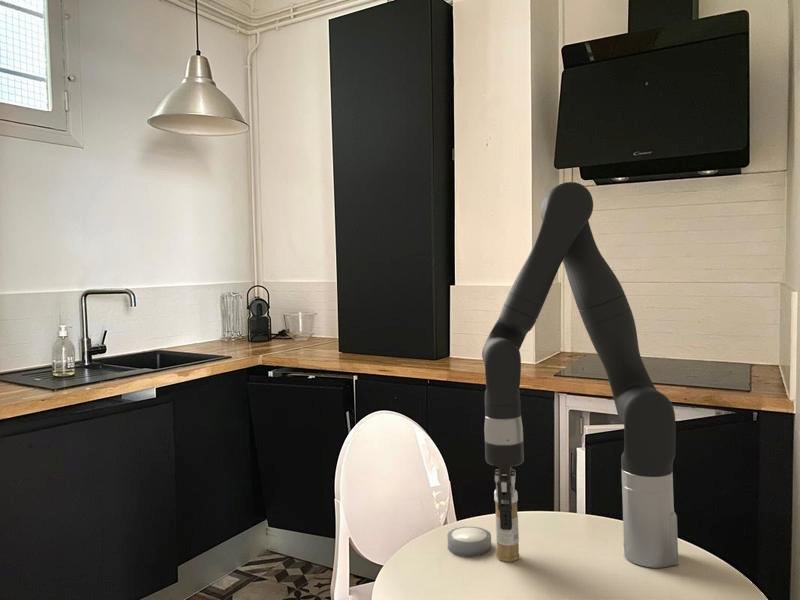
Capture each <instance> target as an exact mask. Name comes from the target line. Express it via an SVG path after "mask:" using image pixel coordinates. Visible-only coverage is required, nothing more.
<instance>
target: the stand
mask: <svg viewBox="0 0 800 600" xmlns="http://www.w3.org/2000/svg"><path fill="white" fill-rule="evenodd" d="M446 536H447V549H448V551H449V552H450V553H451V554H454V555H456V556H461V557H467V558H470V557H471V558H473V557H479V556H480V557H481V556H484V555H486V554H488V553H489V552H491V550H492V534H491V532H490V531H488V530H487V529H484V528H482V527H477V526H460V527H455V528H453V529H451V530H450V531H448V533H447V535H446Z"/></svg>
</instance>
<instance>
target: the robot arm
mask: <svg viewBox="0 0 800 600" xmlns="http://www.w3.org/2000/svg"><path fill="white" fill-rule="evenodd" d="M593 210H594V199H593V196H592V193H591V192H590V191H589V189H588V188H587V187H586V186H584V185H583V184H581V183H579V182H576V181H575V182H574V181H568V182H563V183H560V184H558V185H556V186H554V187H553V188H552V189H550V190H549V192H547V194H546V195H545V196H544V198H543V199H542V201H541V204H540V210H539V211H540V218H541V220H542V222H541V225H540V227H539V231H538V234H537V237H536V239H535V241H534V244H533V247H532V248H531V250H530V252H529V254H528V256H527V258H526V260H525V261H524V263H523V265H522V267H521V269H520V271H519V272H518V274H517V276H516V277H515V280H514V281H513V284H512V286H511V287H510V290H509V292H508V294H507V297H506V299H505V301H504V304H503V306H502V308H501V311H500V313H499V316H498V318H497V320H496V322H495V324H494V325H493V326H492V329H491V330H490V332H489V334H488V336H487V338H486V339H485V342H484V345H483V347H482V351H481V352H482V353H481V357H482V360H483V362H484V372H485V373H484V374H485V388H486V389H485V391H484V429H483V432H484V454H485V455H484V457H485V459H484V460H485V462H486V464H488V465H491V466H496V467H497V468H498V469H495V470H494V471H495V473H494V483H495V490H496V496H497V497H498V509H499V511H500V527H501V529H502V530H511V529H512V509H513V506H512V498H514V489H515V487H516V486H515V483H516V470H515V469H513V466H514V467H516V466H520V465H522V464H523V463H524V460H525V453H524V448H525V447H524V426H523V421H522V409H521V407H522V406H521V401H522V400H521V392H520V388H521V376H522V373H521V372H522V357H521V352H520V350H521V347H522V345H523V342H524V340H525V338H526V337H527V335H528V334H529V332H530V331H531V330H532V329H533V328H534V326H535V324H536V323H537V319H538V318H539V316H540V314H541V311H542V309H543V306H544V304H545V301H546V300H547V297H548V295H549V293H550V291H551V287H552V286H553V283H554V281H555V279H556V275H557V274H558V271H559V269H560V268H561V265H562V264H563V266H564V270H565V273H566V276H567V279H568V283H569V286H570V289H571V291H572V295H573V299H574V300H575V304H576V307H577V310H578V312H579V314H580V315H579V316H580V317H581V321H582V322H583V325H584V328H585V330H586V332H587V335H588V337H589V339H590V341H591V343H592V345H593V348H594V349H595V352H596V353H597V356H598V358H599V359H600V362H601V363H602V365H603V368H604V370H605V372H606V373H605V374H606V375H607V379H608V381H609V386H610V390H611V393H612V397H613V401H614V404H615V405H614V407H615V409H616V412H617V416H618V418H619V420H621V422H622V423H623V433H624V434H623V435H624V437H623V439H624V440H623V441H624V443H623V444H624V447H623V448H624V449H623V452H622V454H621V457H620V458H621V459H620V460H621V461H620V462H621V463H620V464H621V465H620V466H621V495H622V496H621V497H622V523H623V529H622V530H623V551H624V552H623V554H624V557H625V559H626V560H628V561H629V562H630V563H633V564H635V565H639V566H642V567H647V568H656V569H657V568H658V569H659V568H660V569H661V568H668V567H671V566H679V547H678V546H679V545H678V542H679V541H678V516H677V514H676V512H675V507H674V504H675V503H674V477H673V476H674V473H673V472H674V471H673V469H674V467H673V464H674V460H675V458H676V444H677V443H676V442H677V441H676V438H677V437H676V433H677V430H676V429H677V428H676V424H677V423H676V411H675V409H674V405H673V403H672V402H671V400H670V399H669V398H668V397H667V396H666V395H665V394H664V393H662V392H660V391H658V390H657V388H656V386H655V385H654V383H653V381H652V379H651V377H650V375H649V373H648V371H647V369H646V367H645V364H644V362H643V359H642V355H641V353H640V348H639V342H638V341H639V340H638V332H637V328H636V322H635V318H634V314H633V311H632V309H631V306H630V303H629V301H628V298H627V296H626V294H625V293H626V292H625V291H624V289H623V287H622V285H621V282H620V281H619V279H618V278H617V276H616V275H615V273H614V272H613V270H612V268H611V266H610V265H609V264H608V262H607V261H606V259H605V258H604V257H603V255H602V254H601V252H600V250H599V248H598V246H597V243H596V241H595V238H594V235H593V231H592V229H591V226H590V221H589V220H590V219H591V216H592V214H593ZM515 490H516V489H515ZM502 500H508V501H509V504H502Z"/></svg>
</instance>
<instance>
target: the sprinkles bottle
mask: <svg viewBox="0 0 800 600" xmlns="http://www.w3.org/2000/svg"><path fill="white" fill-rule="evenodd" d="M493 494H494V495H493V496H494V498H493V500H494V503H495V536H496V551H497V552H496V557H497V559H499V560H500V561H502V562H508V563H509V562H515V561H517V560H519V559H520V550H519V549H520V547H519V545H520V544H519V540H520V536H519V516H518V500H519V499H518V497H519V495H518V491H517V490H516V489H514V498H512V506H513V509H512V529H511V530H502V529H501V527H500V511H499V509H498V497H497V496H496V489H494V492H493ZM502 504H509V501H508V500H502Z"/></svg>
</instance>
